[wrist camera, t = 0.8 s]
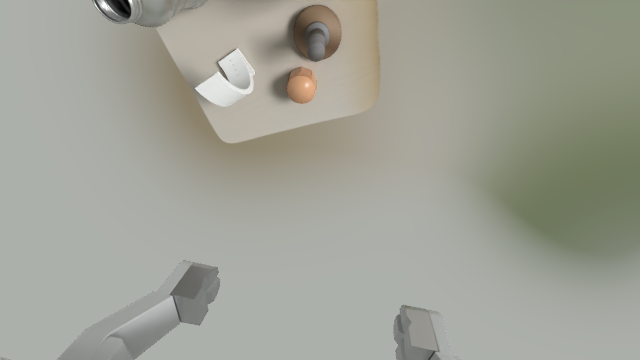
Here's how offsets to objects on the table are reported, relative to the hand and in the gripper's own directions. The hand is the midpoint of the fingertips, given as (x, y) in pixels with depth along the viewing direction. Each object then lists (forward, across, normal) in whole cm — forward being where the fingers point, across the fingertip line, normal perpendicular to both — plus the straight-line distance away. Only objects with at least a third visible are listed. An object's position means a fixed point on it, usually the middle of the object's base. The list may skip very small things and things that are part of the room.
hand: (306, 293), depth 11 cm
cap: (+44, +9, -1) cm, 45 cm away
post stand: (+43, +7, -9) cm, 44 cm away
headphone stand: (+42, +21, -2) cm, 48 cm away
